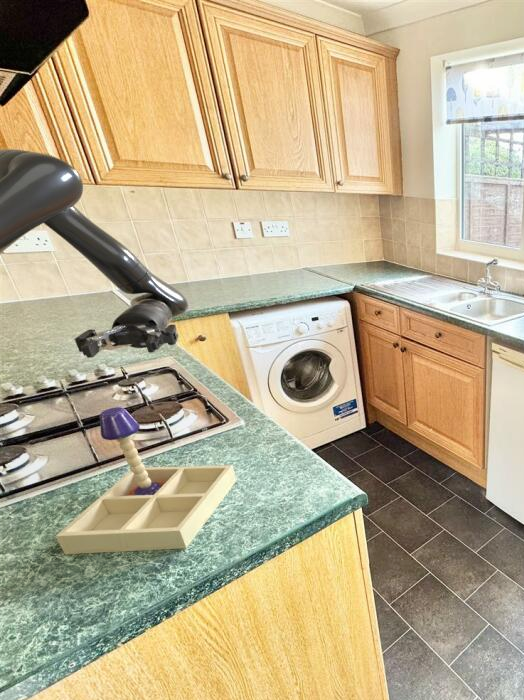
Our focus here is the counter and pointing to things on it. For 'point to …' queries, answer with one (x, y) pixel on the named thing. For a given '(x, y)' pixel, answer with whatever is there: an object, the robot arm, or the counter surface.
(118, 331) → the robot arm
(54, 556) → the counter surface
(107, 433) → the toy lamp
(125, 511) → the grid
